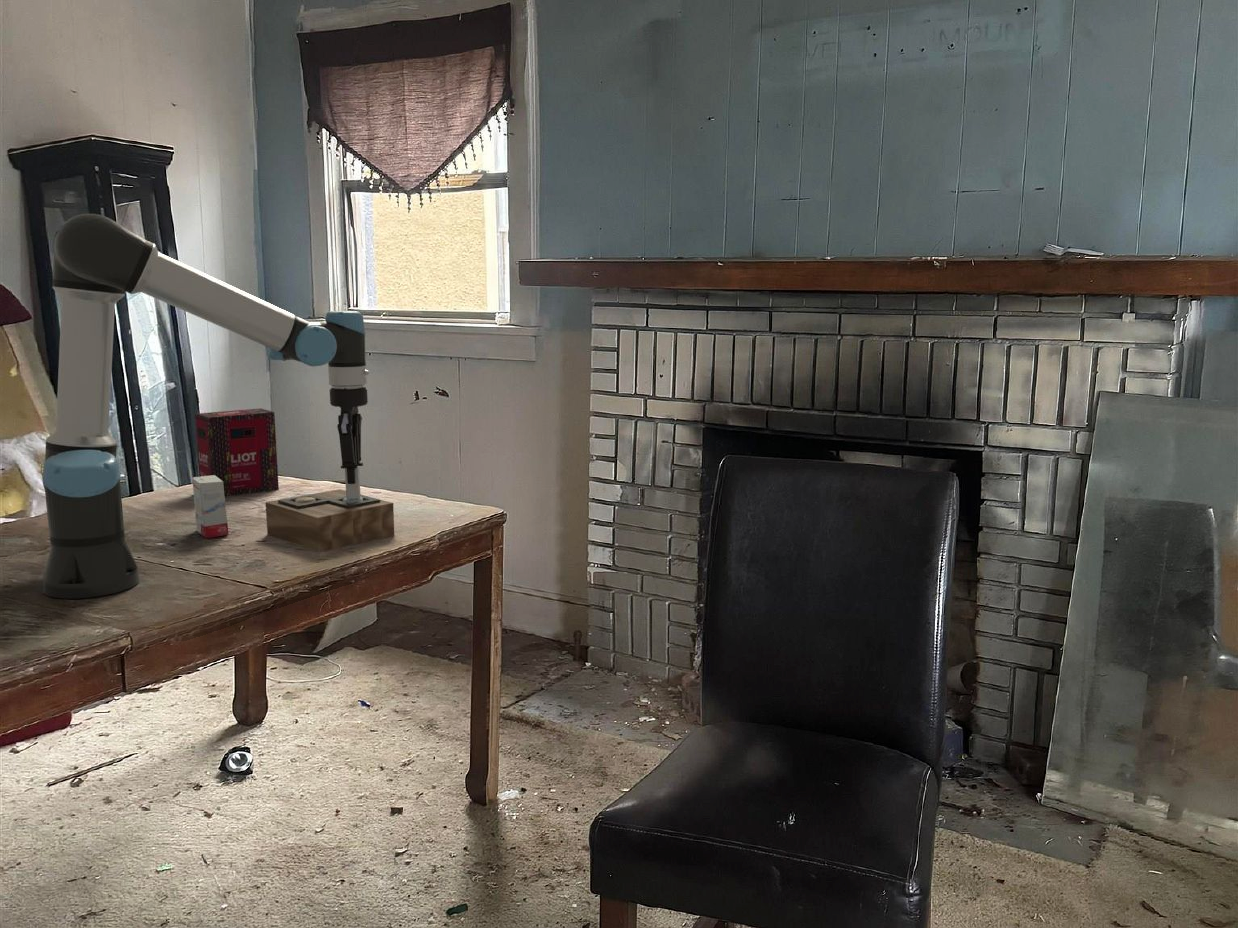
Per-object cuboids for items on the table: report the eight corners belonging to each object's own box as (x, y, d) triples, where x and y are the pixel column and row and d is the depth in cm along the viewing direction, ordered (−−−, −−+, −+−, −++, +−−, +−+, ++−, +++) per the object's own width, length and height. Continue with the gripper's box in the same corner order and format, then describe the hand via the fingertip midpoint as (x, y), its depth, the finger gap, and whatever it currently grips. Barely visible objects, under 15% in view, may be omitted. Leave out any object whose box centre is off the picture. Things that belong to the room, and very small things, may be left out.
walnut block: (319, 551, 202) (317, 514, 201) (267, 534, 215) (265, 499, 214) (394, 535, 215) (393, 500, 214) (341, 519, 228) (339, 486, 227)
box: (265, 484, 266) (260, 408, 262) (278, 489, 259) (274, 412, 255) (200, 492, 255) (195, 413, 252) (212, 498, 249) (207, 417, 245)
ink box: (229, 536, 214) (225, 481, 212) (203, 539, 211) (199, 483, 209) (219, 527, 221) (216, 474, 219) (195, 530, 218) (191, 476, 216)
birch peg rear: (303, 537, 212) (302, 502, 211) (293, 533, 215) (291, 499, 213) (320, 533, 215) (319, 499, 214) (310, 530, 218) (308, 496, 216)
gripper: (360, 390, 204) (365, 504, 208) (372, 382, 216) (376, 491, 221) (322, 390, 203) (328, 505, 208) (336, 383, 216) (341, 491, 220)
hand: (353, 497), depth 214 cm, fingers closed
